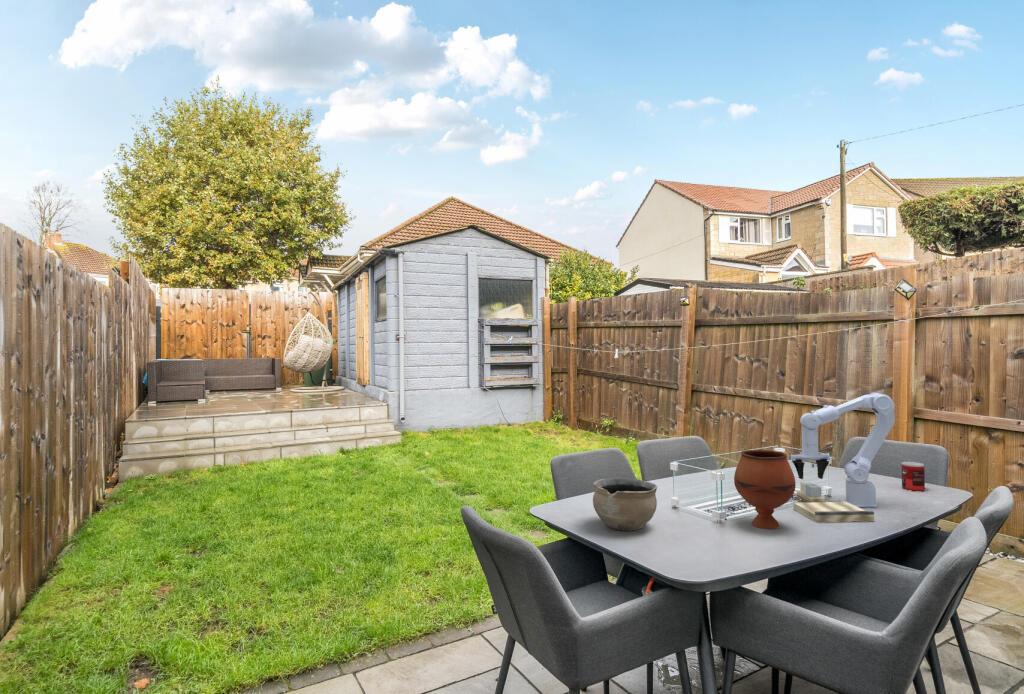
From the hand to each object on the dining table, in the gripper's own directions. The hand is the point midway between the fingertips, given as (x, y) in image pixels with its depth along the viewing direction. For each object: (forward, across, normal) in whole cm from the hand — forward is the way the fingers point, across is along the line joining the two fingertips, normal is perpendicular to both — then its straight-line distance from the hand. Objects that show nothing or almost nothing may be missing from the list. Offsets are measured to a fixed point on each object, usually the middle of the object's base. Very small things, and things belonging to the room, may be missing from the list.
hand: (810, 478), depth 219 cm
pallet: (+10, 0, 0) cm, 10 cm away
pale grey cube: (+6, 0, +2) cm, 7 cm away
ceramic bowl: (+10, +79, +27) cm, 84 cm away
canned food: (+9, -52, -16) cm, 55 cm away
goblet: (+9, +31, +28) cm, 43 cm away
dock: (+9, +2, +18) cm, 20 cm away
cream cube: (+6, 0, -2) cm, 7 cm away
